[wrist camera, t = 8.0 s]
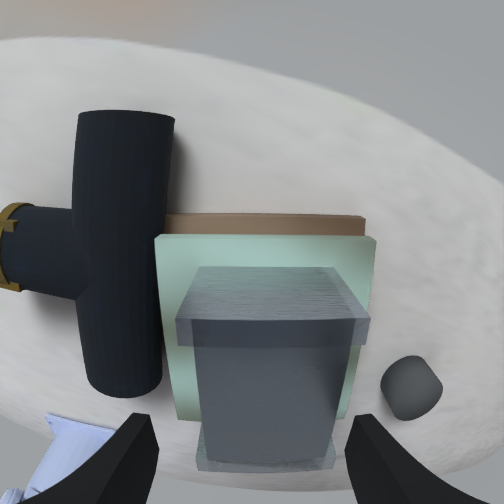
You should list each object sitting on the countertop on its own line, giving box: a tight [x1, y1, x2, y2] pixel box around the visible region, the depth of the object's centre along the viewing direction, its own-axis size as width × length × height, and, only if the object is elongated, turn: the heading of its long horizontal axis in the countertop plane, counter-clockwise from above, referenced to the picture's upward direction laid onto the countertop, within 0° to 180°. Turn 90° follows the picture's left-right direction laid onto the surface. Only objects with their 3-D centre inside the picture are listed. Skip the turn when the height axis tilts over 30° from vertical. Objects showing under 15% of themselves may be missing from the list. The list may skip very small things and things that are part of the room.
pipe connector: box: [0, 110, 175, 398], centre depth 16 cm, size 12×5×15 cm
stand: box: [154, 213, 376, 422], centre depth 17 cm, size 12×11×4 cm
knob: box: [381, 356, 443, 421], centre depth 19 cm, size 4×4×3 cm
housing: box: [175, 266, 370, 473], centre depth 13 cm, size 8×6×5 cm
